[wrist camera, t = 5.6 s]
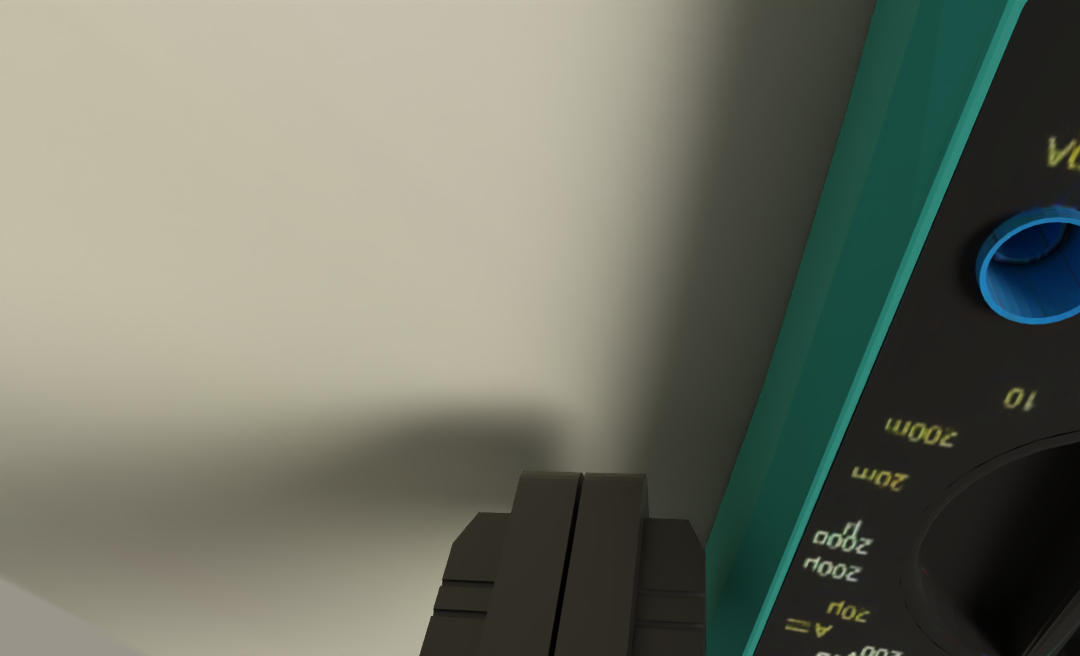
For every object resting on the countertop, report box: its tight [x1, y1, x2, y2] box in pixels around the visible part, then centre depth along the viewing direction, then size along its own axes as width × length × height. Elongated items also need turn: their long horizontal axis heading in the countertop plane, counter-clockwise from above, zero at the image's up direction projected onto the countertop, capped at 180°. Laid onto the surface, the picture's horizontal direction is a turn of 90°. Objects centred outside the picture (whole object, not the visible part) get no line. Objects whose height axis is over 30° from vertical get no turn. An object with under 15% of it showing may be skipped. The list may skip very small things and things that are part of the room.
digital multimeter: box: [704, 0, 1080, 656], centre depth 11 cm, size 7×15×3 cm, turn 172°
